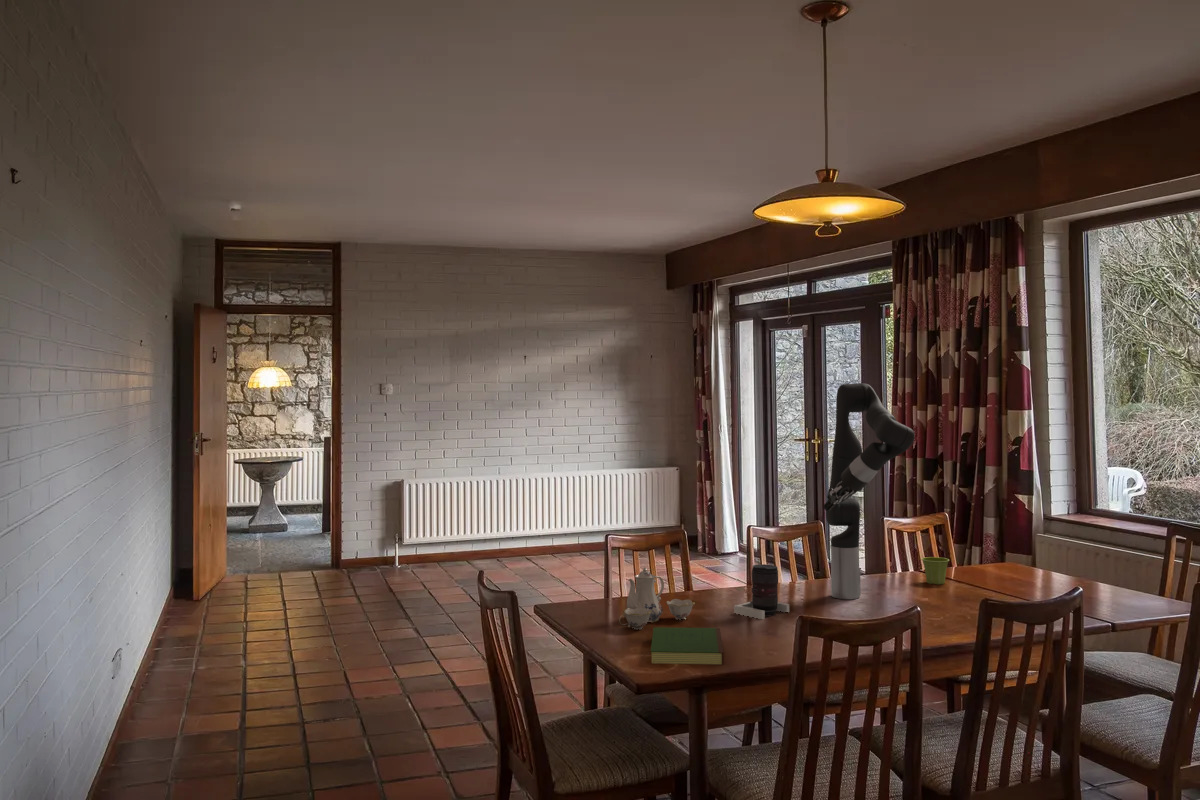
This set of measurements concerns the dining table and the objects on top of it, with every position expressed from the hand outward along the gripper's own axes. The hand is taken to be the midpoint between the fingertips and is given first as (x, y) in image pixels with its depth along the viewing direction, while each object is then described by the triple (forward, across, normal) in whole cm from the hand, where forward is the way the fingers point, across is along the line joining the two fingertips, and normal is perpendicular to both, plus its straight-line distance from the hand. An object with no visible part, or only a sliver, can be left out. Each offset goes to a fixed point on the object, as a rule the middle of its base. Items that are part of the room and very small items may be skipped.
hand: (826, 508), depth 287 cm
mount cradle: (+36, +10, +12) cm, 39 cm away
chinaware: (+48, +42, 0) cm, 64 cm away
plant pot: (+26, -70, +23) cm, 78 cm away
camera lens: (+35, +10, +13) cm, 39 cm away
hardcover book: (+27, +58, +21) cm, 67 cm away
